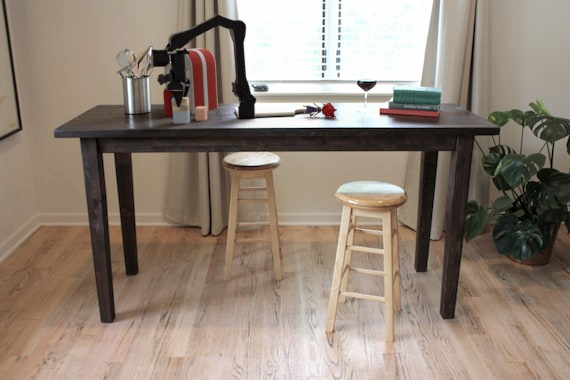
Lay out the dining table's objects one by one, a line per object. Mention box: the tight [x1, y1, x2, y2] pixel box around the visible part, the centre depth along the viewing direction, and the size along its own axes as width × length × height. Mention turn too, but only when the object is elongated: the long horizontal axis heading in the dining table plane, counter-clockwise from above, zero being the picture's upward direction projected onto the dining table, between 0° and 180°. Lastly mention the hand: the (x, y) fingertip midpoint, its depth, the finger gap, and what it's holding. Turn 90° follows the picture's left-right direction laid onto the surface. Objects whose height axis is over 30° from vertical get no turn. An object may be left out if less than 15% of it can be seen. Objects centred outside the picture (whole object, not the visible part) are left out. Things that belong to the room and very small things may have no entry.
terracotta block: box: [194, 106, 208, 122], centre depth 256 cm, size 6×4×5 cm, turn 178°
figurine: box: [302, 102, 338, 119], centre depth 256 cm, size 6×8×15 cm
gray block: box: [172, 110, 191, 124], centre depth 249 cm, size 6×4×5 cm, turn 88°
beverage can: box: [162, 87, 174, 118], centre depth 264 cm, size 7×7×12 cm
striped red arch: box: [163, 47, 219, 115], centre depth 277 cm, size 16×18×27 cm
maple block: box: [172, 97, 189, 111], centre depth 248 cm, size 6×4×5 cm, turn 88°
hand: (180, 105), depth 248 cm, fingers open, 9 cm apart
